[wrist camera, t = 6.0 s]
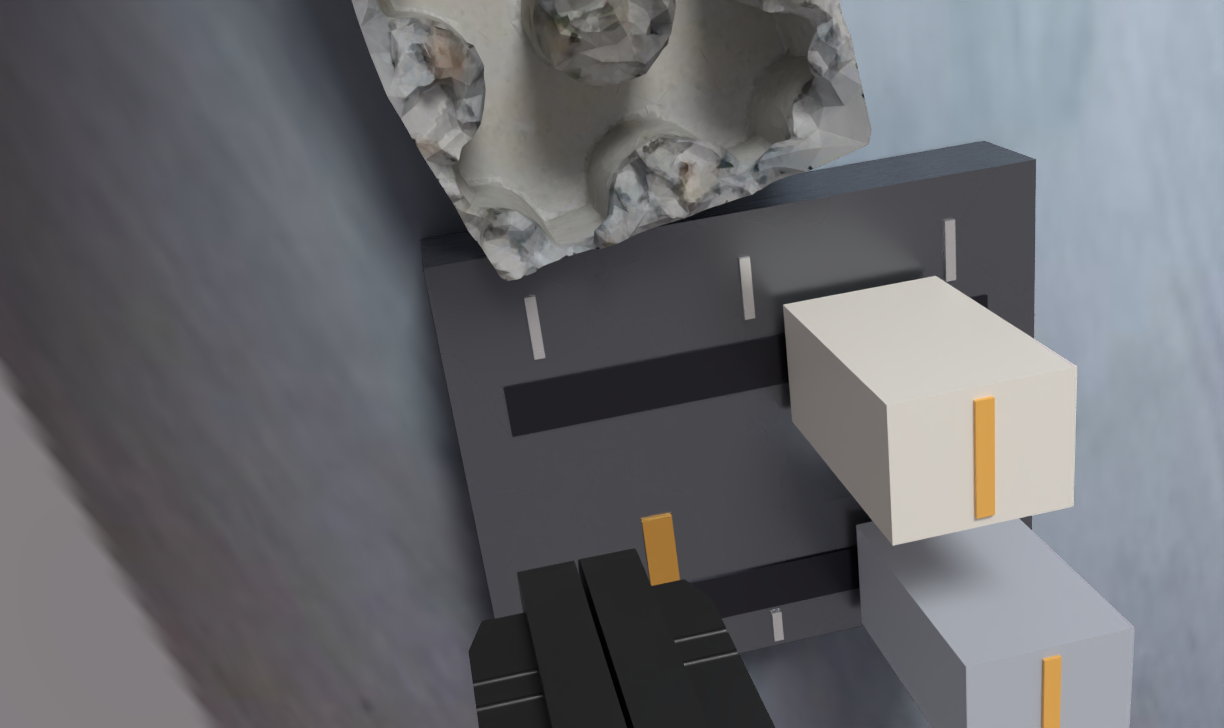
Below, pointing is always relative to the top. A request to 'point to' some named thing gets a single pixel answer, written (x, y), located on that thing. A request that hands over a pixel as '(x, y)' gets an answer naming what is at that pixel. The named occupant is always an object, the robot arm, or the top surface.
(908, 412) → the ivory cap
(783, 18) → the egg carton
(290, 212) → the top surface
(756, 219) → the fader console
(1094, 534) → the top surface
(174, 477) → the top surface
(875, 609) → the slate fader cap
